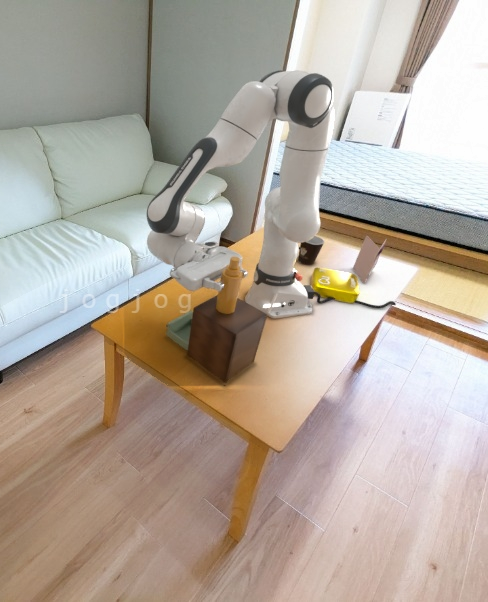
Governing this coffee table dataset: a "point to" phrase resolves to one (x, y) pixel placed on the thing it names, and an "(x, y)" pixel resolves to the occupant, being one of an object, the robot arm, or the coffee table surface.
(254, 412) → the coffee table surface
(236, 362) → the cabinet
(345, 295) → the element tile
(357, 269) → the greeting card
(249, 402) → the coffee table surface
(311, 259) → the coffee mug
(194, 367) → the coffee table surface
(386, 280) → the coffee table surface
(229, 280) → the bottle
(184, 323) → the green pull-out drawer
